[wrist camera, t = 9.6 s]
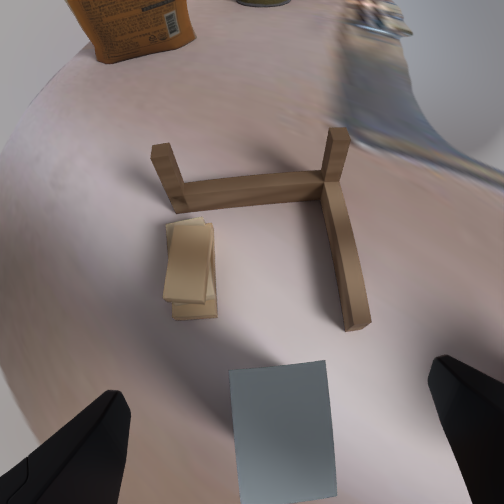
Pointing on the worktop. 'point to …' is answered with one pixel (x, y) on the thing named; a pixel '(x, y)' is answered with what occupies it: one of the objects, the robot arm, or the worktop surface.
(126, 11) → the pancake mix bag
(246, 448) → the grey rectangular block
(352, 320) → the rack
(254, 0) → the canister
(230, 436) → the worktop surface
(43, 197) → the worktop surface
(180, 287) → the offcut stack
